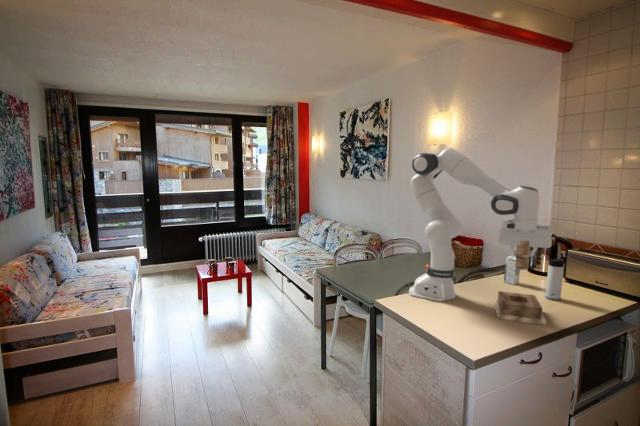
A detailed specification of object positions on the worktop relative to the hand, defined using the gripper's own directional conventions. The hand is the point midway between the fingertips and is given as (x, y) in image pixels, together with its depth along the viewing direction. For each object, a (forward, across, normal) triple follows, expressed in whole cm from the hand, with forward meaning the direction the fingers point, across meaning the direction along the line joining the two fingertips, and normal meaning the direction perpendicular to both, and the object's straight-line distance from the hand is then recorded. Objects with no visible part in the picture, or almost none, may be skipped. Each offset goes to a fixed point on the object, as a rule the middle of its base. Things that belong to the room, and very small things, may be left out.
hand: (522, 255), depth 158 cm
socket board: (+26, 0, 0) cm, 26 cm away
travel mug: (+26, -19, -26) cm, 41 cm away
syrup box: (+26, -3, -43) cm, 51 cm away
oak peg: (+5, 0, 0) cm, 5 cm away
